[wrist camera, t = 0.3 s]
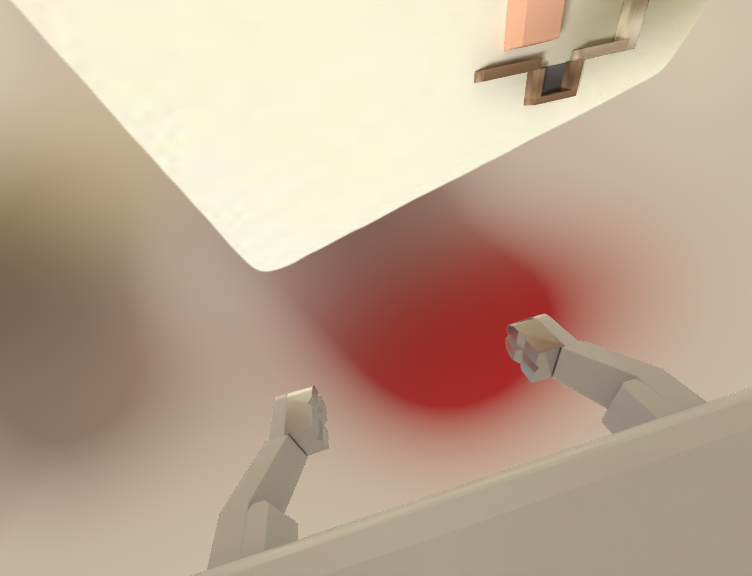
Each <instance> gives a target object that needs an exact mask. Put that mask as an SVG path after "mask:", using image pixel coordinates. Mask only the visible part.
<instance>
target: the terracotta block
mask: <svg viewBox="0 0 752 576" xmlns="http://www.w3.org/2000/svg"><path fill="white" fill-rule="evenodd" d="M564 5H565V0H508V5H507V17H506V29H505V41H504V51H507V50H512V49H516V48H521V47H526V46H531V45H535V44H539V43H543V42H546V41H550V40H553V39H557V38H559V34H560V28H561V22H562V16H563V10H564Z"/></svg>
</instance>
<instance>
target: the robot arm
mask: <svg viewBox="0 0 752 576" xmlns="http://www.w3.org/2000/svg"><path fill="white" fill-rule="evenodd" d="M507 333H508V334H509V335H508V337H507V338H506V342H505V345H506V348H507V351H508V353H509V355H510V356H511V358H512V359H513V360H514V361H516V362H518V363H521V370H522V371H523V373H524V374H525V375H526V376H527V377H528V378H529V380H530V381H531V382H532V383H533V382H537V381H540V380H543V379H546V378H550V377H553V379H555V380H557V381H559V382H560V383H562V384H564V385H566V386H568V387H569V388H571V389H573V390H575V391H577V392H579V393H580V394H582V395H584V396H585V397H587V398H589V399H591V400H593V401H594V402H596V403H598V404H600V405H602V406H603V407H605V408H607V411H606V413H605V415H604V416H603V418H602V423H603V424H604V425H605V426H606V428H607V429H608V430H609V431H610V432H611V433H612V434H611V435H608V436H605V437H602V438H599V439H596V440H593V441H590V442H587V443H584V444H581V445H578V446H576V447H572V448H569V449H566V450H563V451H560V452H557V453H554V454H552V455H549V456H546V457H543V458H540V459H537V460H534V461H531V462H528V463H525V464H522V465H519V466H516V467H513V468H510V469H507V470H504V471H501V472H498V473H495V474H492V475H489V476H486V477H483V478H480V479H477V480H474V481H471V482H468V483H465V484H462V485H459V486H456V487H453V488H451V489H448V490H444V491H442V492H439V493H436V494H433V495H430V496H427V497H424V498H421V499H418V500H415V501H412V502H409V503H406V504H403V505H400V506H397V507H394V508H391V509H388V510H385V511H382V512H379V513H376V514H373V515H370V516H367V517H364V518H361V519H359V520H355V521H352V522H349V523H347V524H344V525H341V526H337V527H334V528H332V529H329V530H325V531H322V532H319V533H316V534H314V535H311V536H308V537H305V538H302V539H299V540H298V524H297V522H296V521H295V520H293V519H292V518H290V517H289V516H287V515H286V514H284V513H285V510H286V508H287V506H288V504H289V501H290V498H291V496H292V494H293V491H294V489H295V487H296V484H297V482H298V479H299V477H300V475H301V472H302V470H303V468H304V465H305V463H306V460H307V458H308V457H307V456H308V455H312V454H314V453H317V452H320V451H322V450H325V449H328V448H329V445H328V430H327V429H326V427H325V426H324V424H325V423H326V421H327V412H326V407H325V403H324V401H323V399H322V397H321V396H318V391H317V389H316V387H315V386H313V387H309V388H306V389H303V390H299V391H295V392H292V393H288V394H285V395H282V396H278V397H276V399H275V401H274V406H273V415H272V422H271V430H270V439H269V440H268V441H266V442H265V443H264V444H263V446H262V448H261V449H260V451H259V452H258V454H257V456H256V457H255V459H254V460H253V462H252V463H251V465H250V466H249V468H248V470H247V471H246V473H245V474H244V476H243V478H242V479H241V481H240V482H239V484H238V486H237V487H236V489H235V490H234V492H233V493H232V495H231V497H230V498H229V500H228V501H227V503H226V504H225V506H224V507H223V509H222V511H221V512H220V514H219V519H218V523H217V528H216V532H215V537H214V541H213V545H212V550H211V554H210V559H209V563H208V568H207V570H206V571H203V572H200V573H198V574H195V575H192V576H752V387H751V388H748V389H745V390H742V391H739V392H736V393H733V394H730V395H727V396H724V397H721V398H718V399H715V400H712V401H709V402H706V401H705V400H703V399H702V398H701V397H699V396H698V395H696V394H695V393H694V392H693V391H691V390H690V389H689V388H687V387H686V386H685V385H683V384H682V383H681V382H679V381H678V380H677V379H675V378H674V377H673V376H671V375H670V374H669V373H667V372H666V371H665V370H663V369H661V368H658V367H656V366H653V365H650V364H647V363H644V362H641V361H639V360H636V359H633V358H630V357H627V356H624V355H621V354H619V353H616V352H613V351H610V350H607V349H604V348H602V347H599V346H596V345H593V344H590V343H587V342H585V341H579V342H578V341H577V340H576V339H575V338H574V337H572V336H571V335H570V334H569V333H568V332H567V331H566V330H564V329H563V328H562V327H561V326H560V325H559V324H557V323H556V322H555V321H554V320H553V319H552V318H551V317H549V316H548V315H546V314H542V315H539V316H536V317H533V318H528V319H525V320H522V321H519V322H516V323H513V324H510V325H509V326H508V327H507Z"/></svg>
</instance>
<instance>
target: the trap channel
mask: <svg viewBox="0 0 752 576" xmlns="http://www.w3.org/2000/svg"><path fill="white" fill-rule="evenodd" d="M648 2H649V0H624V4H623V8H622V11H621V15H620V19H619V23H618V27H617V31H616V34H615V38H614V42H612V43H607V44H602V45H598V46H593V47H588V48H584V49H579V50H574V51H572V53H571V58H570V62H568V63H563V64H559V65H554V66H550V67H545V68H540V65H541V58H537V59H532V60H528V61H523V62H518V63H514V64H509V65H504V66H500V67H495V68H490V69H486V70H481V71H476V72H475V79H474V83H477V82H483V81H488V80H492V79H497V78H502V77H506V76H511V75H515V74H520V73H525V72H528V74H527V82H526V90H525V98H524V105H537V104H542V103H546V102H550V101H555V100H559V99H564V98H568V97H573V96H576V93H577V88H578V84H579V79H580V75H581V70H582V65H583V61H584V59H589V58H594V57H598V56H603V55H607V54H612V53H617V52H621V51H626V50H631V49H635V46H636V42H637V39H638V36H639V32H640V29H641V26H642V22H643V19H644V16H645V12H646V9H647V5H648Z"/></svg>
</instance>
